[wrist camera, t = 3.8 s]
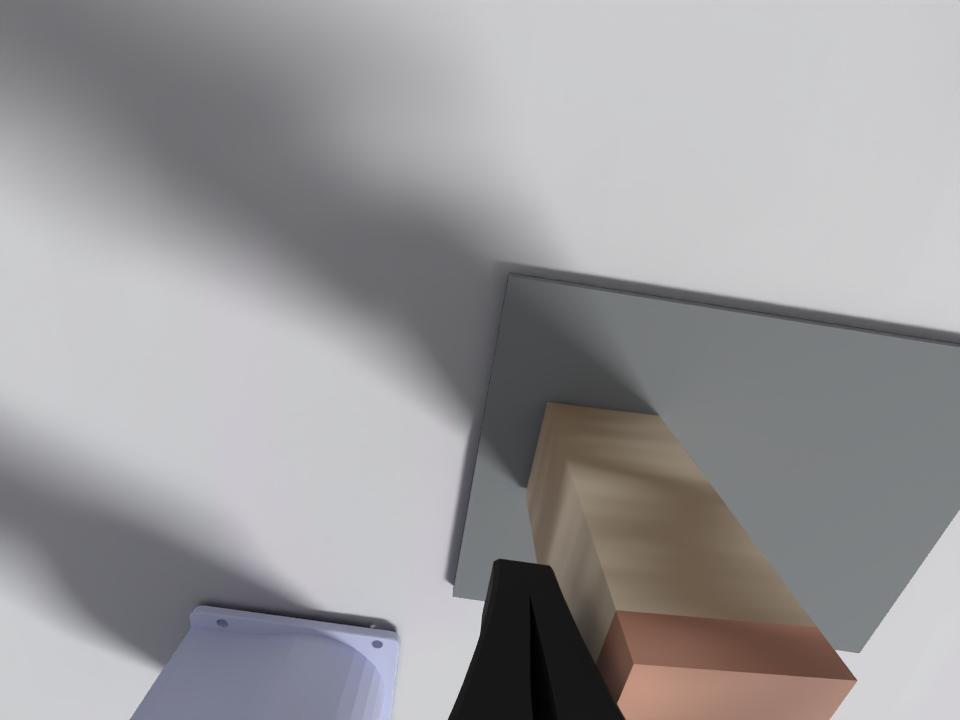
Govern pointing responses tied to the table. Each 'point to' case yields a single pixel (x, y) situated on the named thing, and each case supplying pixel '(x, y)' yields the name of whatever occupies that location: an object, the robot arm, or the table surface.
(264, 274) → the table surface
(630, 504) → the maple block
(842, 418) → the rubber mat
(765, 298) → the table surface
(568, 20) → the table surface
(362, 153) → the table surface
